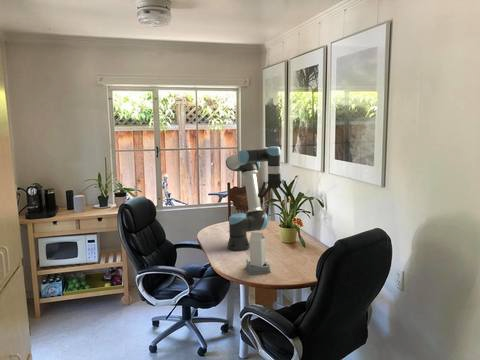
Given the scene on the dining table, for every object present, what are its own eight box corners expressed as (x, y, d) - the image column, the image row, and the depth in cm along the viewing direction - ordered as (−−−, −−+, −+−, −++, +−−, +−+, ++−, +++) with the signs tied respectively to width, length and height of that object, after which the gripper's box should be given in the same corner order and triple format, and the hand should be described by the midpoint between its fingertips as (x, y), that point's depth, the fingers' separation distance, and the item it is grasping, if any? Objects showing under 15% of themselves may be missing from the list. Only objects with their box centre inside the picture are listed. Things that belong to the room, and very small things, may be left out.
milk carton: (261, 266, 218) (261, 234, 215) (250, 265, 220) (249, 233, 218) (265, 262, 224) (264, 231, 221) (254, 261, 227) (253, 230, 224)
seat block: (245, 266, 228) (245, 258, 227) (265, 264, 230) (265, 257, 229) (250, 274, 216) (249, 266, 215) (270, 272, 218) (270, 264, 218)
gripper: (254, 174, 221) (255, 210, 224) (296, 172, 224) (296, 208, 228) (252, 173, 228) (253, 207, 232) (292, 170, 231) (293, 205, 235)
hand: (274, 207), depth 230 cm, fingers open, 13 cm apart
